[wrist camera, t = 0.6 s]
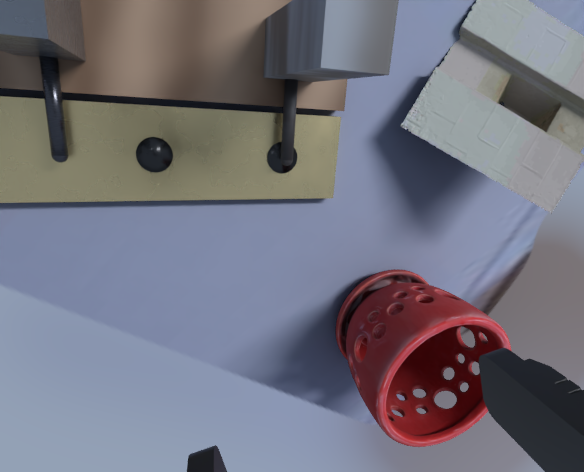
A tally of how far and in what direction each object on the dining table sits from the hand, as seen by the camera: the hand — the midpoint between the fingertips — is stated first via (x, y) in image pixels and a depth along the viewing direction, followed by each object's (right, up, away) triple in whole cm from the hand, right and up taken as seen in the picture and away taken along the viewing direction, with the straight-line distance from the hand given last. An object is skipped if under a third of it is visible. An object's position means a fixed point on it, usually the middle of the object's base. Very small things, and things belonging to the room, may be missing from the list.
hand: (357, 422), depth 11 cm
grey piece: (+16, +19, +27) cm, 37 cm away
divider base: (-10, +17, +18) cm, 27 cm away
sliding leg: (-17, +15, +14) cm, 27 cm away
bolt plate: (-11, +12, +20) cm, 25 cm away
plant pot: (+7, -3, +32) cm, 33 cm away
